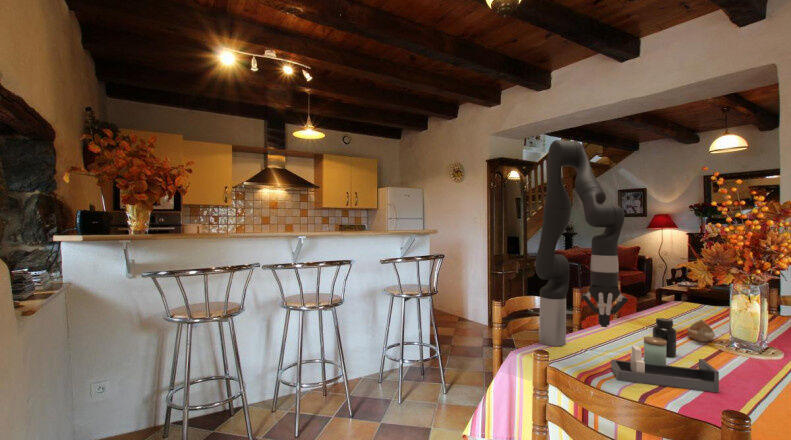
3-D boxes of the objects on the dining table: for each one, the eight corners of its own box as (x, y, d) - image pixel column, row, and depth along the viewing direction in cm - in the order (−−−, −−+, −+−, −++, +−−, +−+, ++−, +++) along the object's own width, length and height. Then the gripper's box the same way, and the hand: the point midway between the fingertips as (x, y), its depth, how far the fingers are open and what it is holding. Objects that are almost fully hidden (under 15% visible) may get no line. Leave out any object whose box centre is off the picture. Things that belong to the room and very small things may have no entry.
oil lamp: (686, 344, 145) (687, 317, 145) (686, 331, 162) (686, 307, 162) (716, 349, 140) (717, 321, 139) (712, 334, 157) (713, 310, 157)
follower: (636, 378, 112) (636, 351, 112) (630, 369, 119) (630, 343, 119) (644, 379, 111) (644, 352, 111) (637, 369, 118) (638, 344, 118)
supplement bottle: (680, 358, 130) (680, 322, 130) (657, 356, 131) (658, 321, 131) (670, 351, 137) (670, 317, 137) (648, 349, 138) (649, 316, 138)
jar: (646, 366, 123) (646, 341, 123) (641, 359, 129) (641, 335, 129) (669, 369, 121) (669, 343, 121) (662, 362, 127) (663, 337, 127)
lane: (618, 380, 112) (618, 361, 112) (611, 367, 122) (611, 349, 122) (718, 392, 104) (718, 372, 104) (702, 378, 114) (702, 359, 114)
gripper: (582, 270, 116) (581, 327, 116) (632, 272, 112) (632, 332, 112) (578, 267, 123) (578, 321, 123) (625, 269, 119) (625, 325, 119)
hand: (604, 326), depth 118 cm, fingers closed
